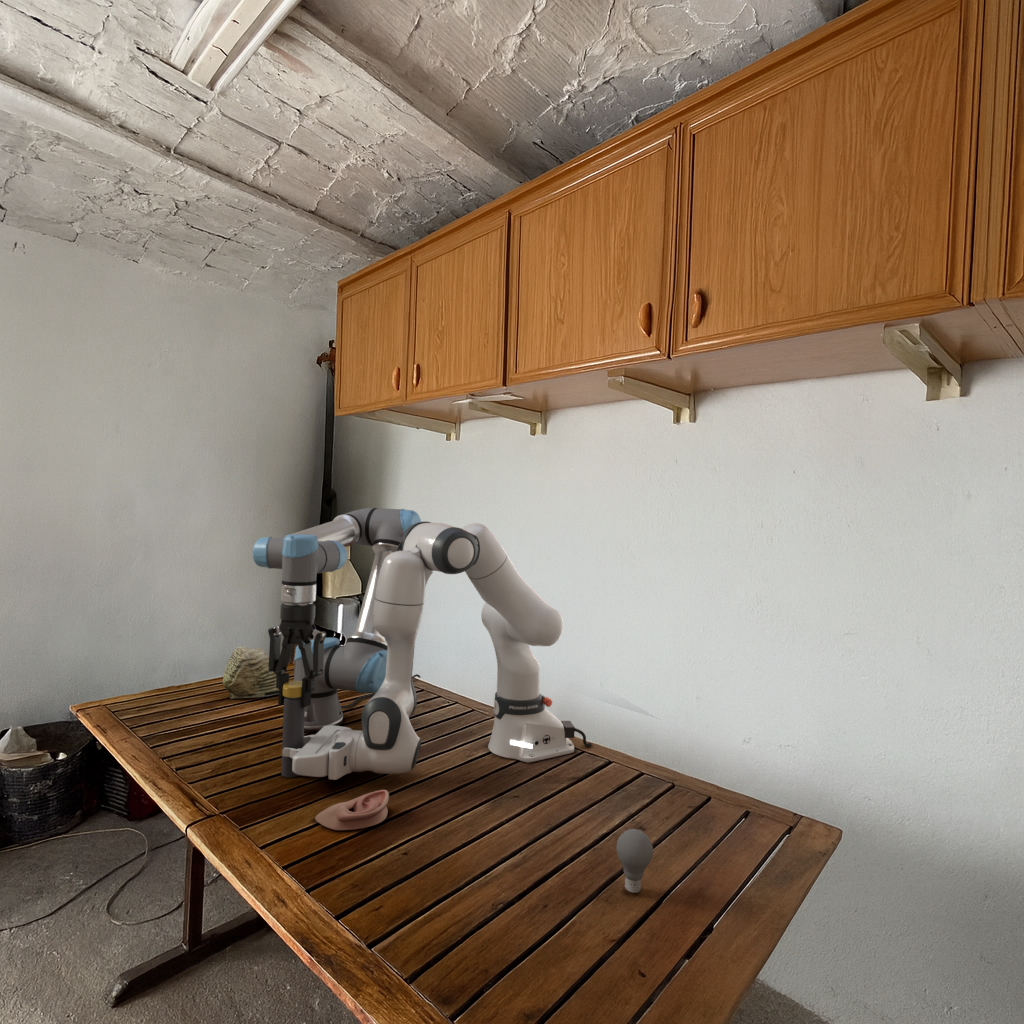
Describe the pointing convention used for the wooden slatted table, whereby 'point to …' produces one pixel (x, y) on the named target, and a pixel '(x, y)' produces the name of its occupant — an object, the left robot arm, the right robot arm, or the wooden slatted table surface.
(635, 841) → the light bulb
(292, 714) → the dark grey slim bottle
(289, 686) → the lid
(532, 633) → the right robot arm
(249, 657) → the fossil
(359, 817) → the anatomical model
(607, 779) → the wooden slatted table surface
